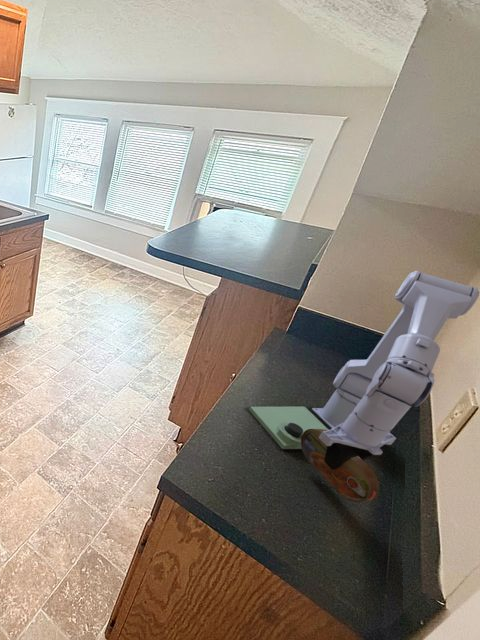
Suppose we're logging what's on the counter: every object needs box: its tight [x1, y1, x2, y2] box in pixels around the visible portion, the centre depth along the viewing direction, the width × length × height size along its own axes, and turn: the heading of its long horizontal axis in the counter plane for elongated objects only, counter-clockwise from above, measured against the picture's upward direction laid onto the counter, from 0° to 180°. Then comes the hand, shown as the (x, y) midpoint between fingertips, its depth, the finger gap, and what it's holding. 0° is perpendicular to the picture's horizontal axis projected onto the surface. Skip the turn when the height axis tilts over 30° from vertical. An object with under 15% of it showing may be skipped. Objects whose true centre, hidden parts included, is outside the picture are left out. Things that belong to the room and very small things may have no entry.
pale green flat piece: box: [248, 406, 329, 450], centre depth 95 cm, size 16×12×3 cm
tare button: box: [285, 423, 303, 438], centre depth 90 cm, size 3×3×2 cm
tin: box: [301, 429, 380, 503], centre depth 78 cm, size 15×3×8 cm, turn 6°
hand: (335, 464), depth 79 cm, fingers closed on tin, 2 cm apart
